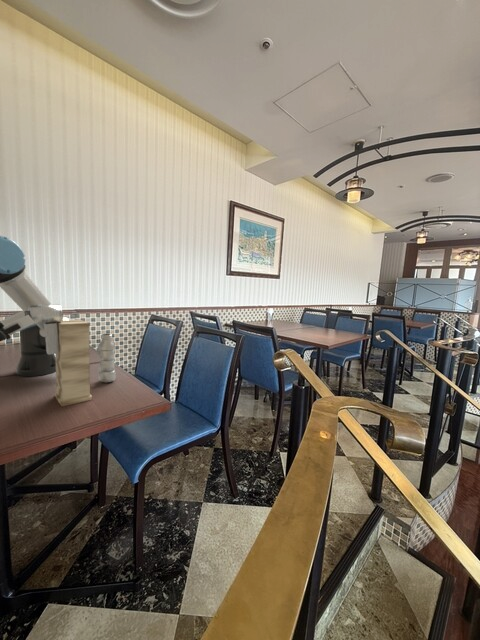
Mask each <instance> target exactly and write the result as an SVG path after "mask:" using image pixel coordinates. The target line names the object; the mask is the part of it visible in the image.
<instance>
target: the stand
mask: <svg viewBox="0 0 480 640" xmlns="http://www.w3.org/2000/svg"><path fill="white" fill-rule="evenodd" d="M57 330H58V342H59V353H56V354H55V357H56V371H55V378H56V379H55V380H56V381H55V385H56V386H55V387H56V392H54V397H55V398H56V401H57V402H58V403H59V405H60V407H65V406H66V407H67V406H69V405H75V404H79V403H84V402H88V401H92V400H93V395H92V394H91V372H90V370H91V369H90V367H91V365H90V363H91V362H90V354H91V353H90V322H88V321H84V320H82V319H69V320H63V321H62V322H59V323H57Z"/></svg>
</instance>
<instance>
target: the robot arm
mask: <svg viewBox="0 0 480 640" xmlns="http://www.w3.org/2000/svg"><path fill="white" fill-rule="evenodd" d="M25 256H26V255H25V253H24V251H23V249H22V247H21V246H20V245H19V244H18V243H16V242H15V241H14V240H13V239H12V238H9V237H7V236H3V235H0V288H1V290H3V292H5V294H6V295H7V296H8V297H9V298H10V299H11V300H12V301H13V302H14V303H15V304H16V305H17V306H18V307H19V308H20V309H21V311H19V312H17V313H15V314H13V315H11V316H9V317H7V318H3V319H2V320H0V342H3V341H6V340H7V341H8V340H9V341H10V339H12V337H11V335H14V334H16V333H17V332H19V342H20V343H19V344H20V357H19V360H18V362H17V367H16V370H15V371H16V375H17V376H20V377H36V376H43V375H44V376H45V375H49V374H53V373H56V354H49V355H48V354H47V350H46V340H45V329H44V324H34V323H35V322H34V321H33V320H32V318H31V317H30V316H29V315H27V316H25V314H24V311H28V307H29V306H30V305H53V304H52V303H51V302H50V301H49V300H48V299H47V297H46V296H45V295H44V294H43V293H42V291H41V290H40V289H39V287H38V286H37V285H36V284H35V283H34V281H33V280H32V279H31V278H30V277H29V276H28V274H27V273H26V271H27V265H26V259H25ZM63 320H70V319H69V318H68V317H67V316H65V315H63ZM32 324H34V325H32Z"/></svg>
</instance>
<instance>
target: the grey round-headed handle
mask: <svg viewBox="0 0 480 640" xmlns="http://www.w3.org/2000/svg"><path fill="white" fill-rule="evenodd" d="M24 314H25V316H27V315H29V316H30V317H31V318H32V320H33V321H34V322H35V323H34V324H44V329H45V340H46V350H47V354H48V355H49V354H54V355H56V353H59V342H58V330H57V323H59V322H62V321H63V316H64V315H63V314H64V313H63V309H62V305H61V304H59V303H58V304H56V303H55V304H52V305H30V306H29V307H28V311H24ZM34 324H32V325H34Z"/></svg>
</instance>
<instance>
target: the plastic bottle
mask: <svg viewBox="0 0 480 640" xmlns="http://www.w3.org/2000/svg"><path fill="white" fill-rule="evenodd" d="M112 339H113V334H111V333H102V334H101V341H100V343H98V345H97V351H98V356H99V357H98V359H99V370H98V375H97V376H98V381H99V382H101V383H111V382H114V381H115V380H116V377H117V374H116V370H115V354H116V345H115V343H114V341H113V340H112Z"/></svg>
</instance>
